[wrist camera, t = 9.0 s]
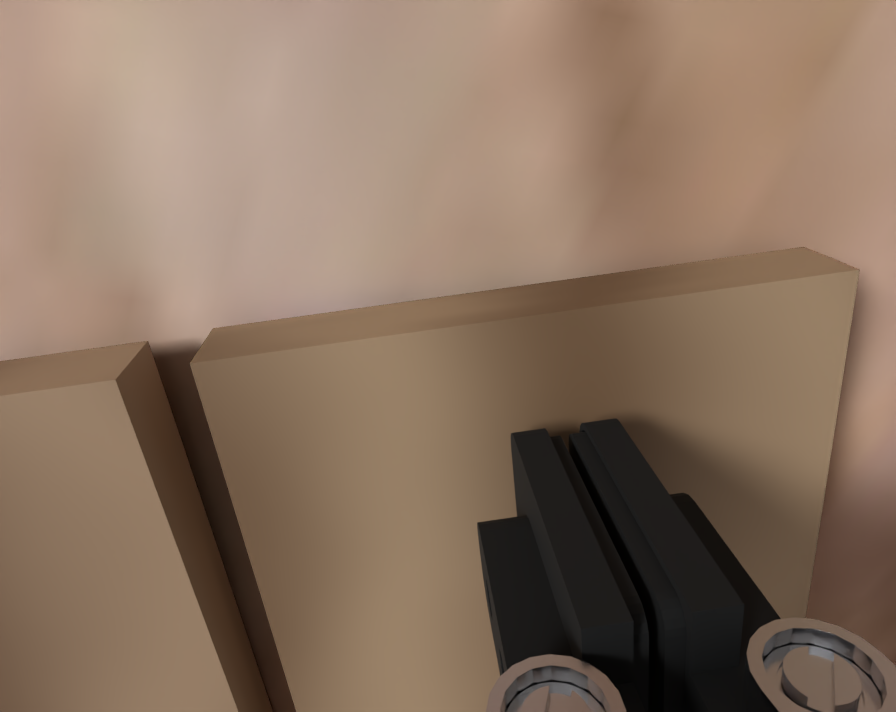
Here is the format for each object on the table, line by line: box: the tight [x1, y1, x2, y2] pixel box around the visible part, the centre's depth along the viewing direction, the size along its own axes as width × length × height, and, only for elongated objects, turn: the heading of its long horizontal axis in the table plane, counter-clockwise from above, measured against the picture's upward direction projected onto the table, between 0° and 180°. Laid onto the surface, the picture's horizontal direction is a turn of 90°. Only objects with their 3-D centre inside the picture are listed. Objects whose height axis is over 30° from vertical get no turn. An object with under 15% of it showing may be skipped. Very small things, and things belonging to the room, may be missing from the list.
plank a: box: [190, 247, 860, 712], centre depth 13 cm, size 10×12×1 cm
